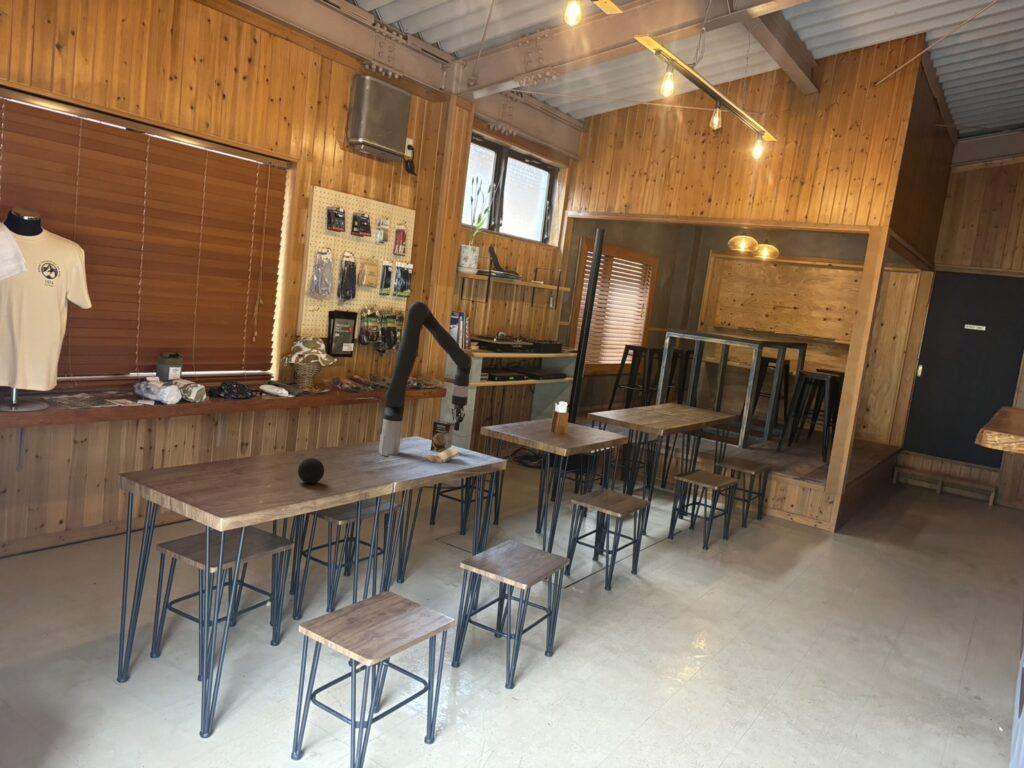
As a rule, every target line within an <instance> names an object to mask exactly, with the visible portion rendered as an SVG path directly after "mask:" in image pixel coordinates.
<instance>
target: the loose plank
mask: <svg viewBox="0 0 1024 768" xmlns="http://www.w3.org/2000/svg"><path fill="white" fill-rule="evenodd" d="M459 455H461V452H460V451H459V450H458V449H456V448H455V447H453V446H451V447H450V448H448V449H447V450H445V451H443V452H441V453H440V452H438V453H437V454H436V455H435V456H437V457H438V458H439V459H440V460H442V462H443V463H447V462H448V461H450V460H451V459H455V457H457V456H459Z"/></svg>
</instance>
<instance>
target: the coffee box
mask: <svg viewBox="0 0 1024 768" xmlns="http://www.w3.org/2000/svg"><path fill="white" fill-rule="evenodd" d="M454 431H455V430H454V422H448V421H444V420H434V421H433V425H432V434H431V444H430V452H436V453H441V452H443V451H445V450H447V449H448V448H450V447H452V444H453V443H452V442H453V435H454Z"/></svg>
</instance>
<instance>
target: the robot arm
mask: <svg viewBox="0 0 1024 768" xmlns="http://www.w3.org/2000/svg"><path fill="white" fill-rule="evenodd" d="M407 311H408V312H407V316H406V317H407V319H406V324H405V328H404V332H403V334H402V337H401V340H400V342H399V346H398V349H397V353H396V357H395V361H394V366H393V367H394V368H393V373H392V378H391V381H390V384H389V386H388V389H387V391H386V392H385V403H384V411H383V416H382V417H383V419H382V428H381V429H382V430H381V433H380V436H379V444H378V445H379V447H378V454H380V455H381V456H386V457H389V455H391V456H392V455H399V454H400V449H401V438H402V429H403V421H404V413H405V412H404V411H405V402H406V390H407V384H408V381H409V379H410V376H411V374H412V371H413V369H414V365H415V363H416V360H417V356H418V354H419V353H418V352H419V347H420V335H421V332H422V328H423V327H424V328H426V330H427V331H428V332H429V333H430V334H431V335H432V337H433V339H434V340H435V341H436V343H438V345H439V346H440V347H441V348H442V350H443V351H444V352H445V353H446V354H448V356H449V357H450V358H451V360H452V362H453V363H454V364H455V365H456V372H455V374H454V382H453V386H452V388H453V389H452V395H451V402H450V403H451V405H453V408H451V415H452V420H453V423H454V430H453V431H454V432H455V431H459V430H460V426H461V425H460V424H461V423H462V422H463V421H464V418H465V416H466V414H465V412H464V410H465V408H464V407H467V405H468V398H469V383H470V375H471V370H472V363H473V361H472V357H471V355H470V354H468V353H467V352H465V351H464V349H462V347H460V345H459V343H458V342H457V341H456V340H455V338H454V336H452V335H451V334H450V333H449V332H448V331H447V330H446V329H445V328H444V327H443V326H442V325H441V324H440V322H439V321H438V320H437V318H436V317H435V316H434V314H433V313H432V311H431V310H430V308H429V306H428V305H427V304H426V303H425V302H421V301H415V302H413V303H412V304H410V305H409V308H408V310H407Z"/></svg>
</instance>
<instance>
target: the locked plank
mask: <svg viewBox="0 0 1024 768" xmlns="http://www.w3.org/2000/svg"><path fill="white" fill-rule="evenodd" d="M424 458H425V459H426V460H428V461H429V462H430V463H432V464H433V463H437V464H439V463H440V464H443V463H444V462H442V460H440V459H439V458H438V457H437V456H436V455H434V454H433V455H431V454H424Z"/></svg>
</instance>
